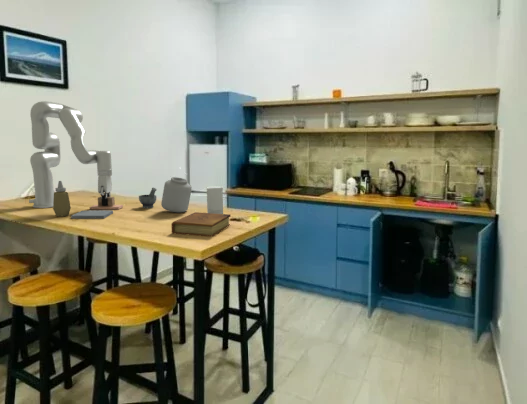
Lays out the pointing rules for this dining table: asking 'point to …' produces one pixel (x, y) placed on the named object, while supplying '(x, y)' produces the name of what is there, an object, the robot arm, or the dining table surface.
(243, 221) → the dining table surface
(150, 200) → the mortar and pestle
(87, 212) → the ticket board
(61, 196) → the squeeze bottle
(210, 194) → the skincare box
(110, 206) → the stub
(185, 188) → the jar
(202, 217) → the diary
